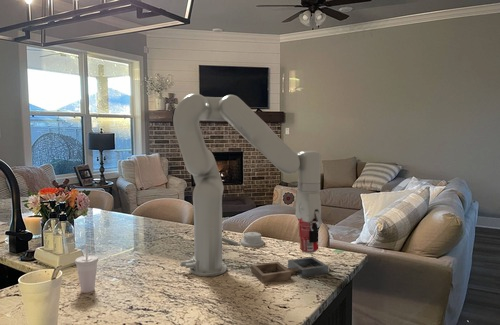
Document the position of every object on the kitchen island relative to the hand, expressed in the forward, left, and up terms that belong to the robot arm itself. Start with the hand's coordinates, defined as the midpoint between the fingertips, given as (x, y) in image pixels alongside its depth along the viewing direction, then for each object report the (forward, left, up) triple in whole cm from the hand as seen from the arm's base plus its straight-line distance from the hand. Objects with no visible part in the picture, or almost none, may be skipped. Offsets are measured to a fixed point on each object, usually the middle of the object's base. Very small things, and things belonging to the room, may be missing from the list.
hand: (308, 238), depth 128 cm
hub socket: (-2, 0, -11) cm, 11 cm away
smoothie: (-70, +9, -11) cm, 72 cm away
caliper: (-20, +42, -11) cm, 48 cm away
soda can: (0, 0, -4) cm, 4 cm away
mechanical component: (-7, +35, -11) cm, 38 cm away
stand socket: (-14, 0, -11) cm, 18 cm away
